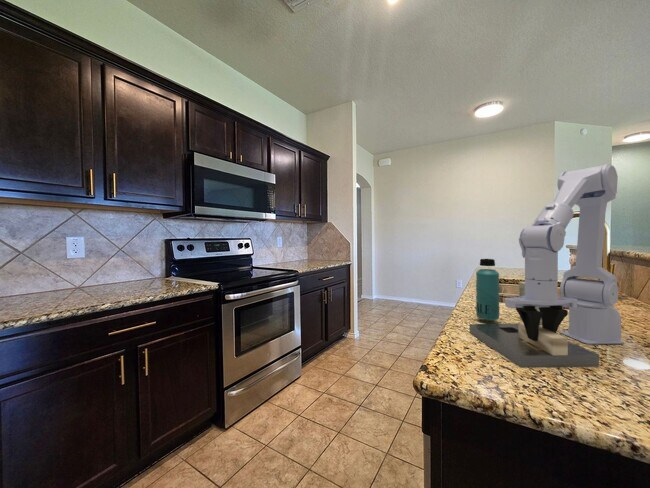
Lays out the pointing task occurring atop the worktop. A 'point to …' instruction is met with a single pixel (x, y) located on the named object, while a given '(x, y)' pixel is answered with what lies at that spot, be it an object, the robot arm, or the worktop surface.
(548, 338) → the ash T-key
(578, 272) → the robot arm
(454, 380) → the worktop surface
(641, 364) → the worktop surface
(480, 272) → the beverage bottle
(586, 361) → the charcoal cover panel
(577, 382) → the worktop surface
